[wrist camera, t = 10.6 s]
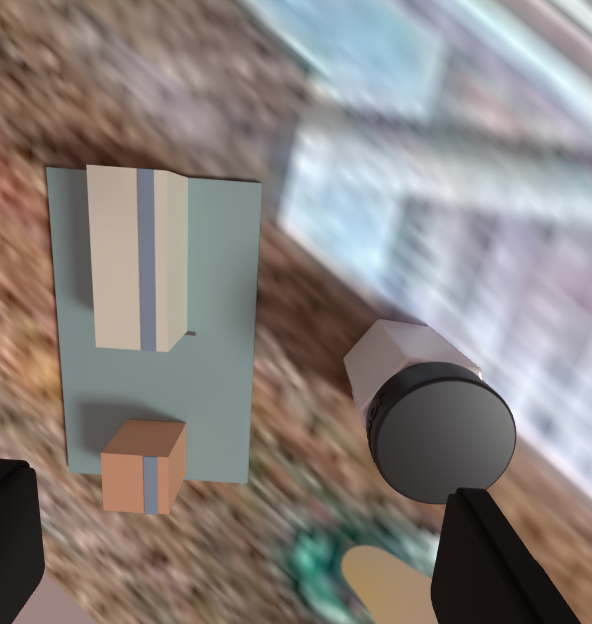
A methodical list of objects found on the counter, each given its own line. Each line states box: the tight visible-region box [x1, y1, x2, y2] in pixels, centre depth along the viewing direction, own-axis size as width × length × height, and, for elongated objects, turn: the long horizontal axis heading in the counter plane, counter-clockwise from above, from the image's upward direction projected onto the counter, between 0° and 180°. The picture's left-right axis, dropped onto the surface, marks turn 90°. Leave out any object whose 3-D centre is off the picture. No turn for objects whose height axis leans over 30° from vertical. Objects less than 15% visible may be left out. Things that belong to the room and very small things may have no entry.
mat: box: [46, 167, 262, 483], centre depth 33 cm, size 26×16×1 cm, turn 176°
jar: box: [343, 319, 516, 505], centre depth 28 cm, size 9×8×12 cm
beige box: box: [86, 165, 188, 352], centre depth 29 cm, size 12×5×5 cm, turn 176°
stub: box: [101, 419, 186, 515], centre depth 33 cm, size 5×5×5 cm
